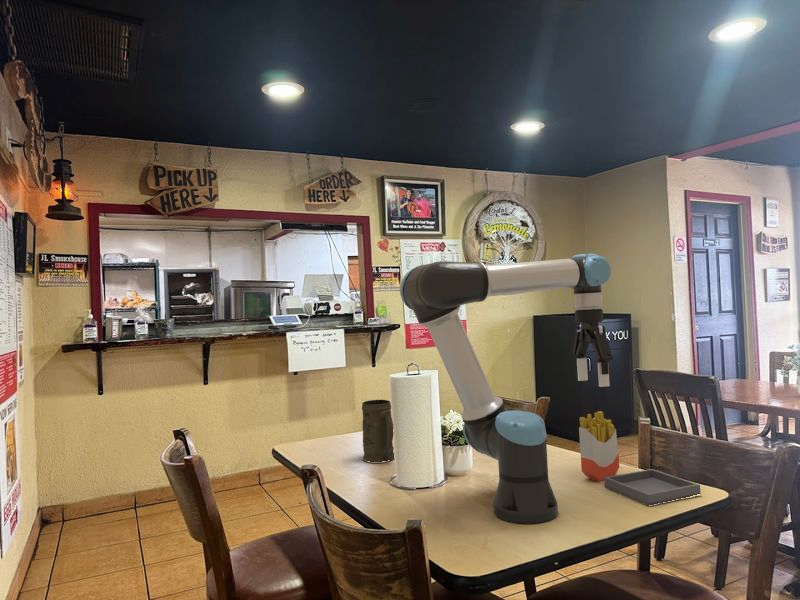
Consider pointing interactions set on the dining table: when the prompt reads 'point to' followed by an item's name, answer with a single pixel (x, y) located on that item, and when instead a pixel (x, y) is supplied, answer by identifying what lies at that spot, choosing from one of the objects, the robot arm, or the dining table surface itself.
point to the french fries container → (598, 447)
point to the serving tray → (651, 486)
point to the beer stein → (377, 431)
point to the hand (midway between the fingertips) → (593, 383)
